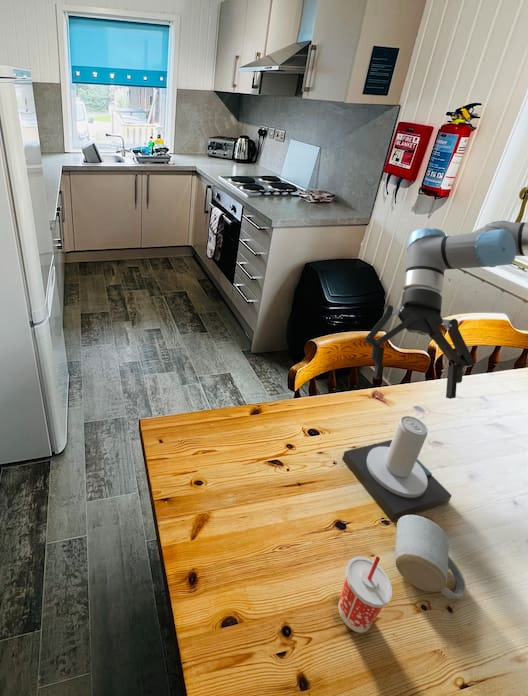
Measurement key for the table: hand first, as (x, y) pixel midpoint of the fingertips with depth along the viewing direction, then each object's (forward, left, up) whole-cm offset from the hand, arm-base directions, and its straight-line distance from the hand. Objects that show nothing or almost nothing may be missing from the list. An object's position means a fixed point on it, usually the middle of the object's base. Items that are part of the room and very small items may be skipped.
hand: (412, 387), depth 82 cm
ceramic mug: (-21, +13, -18) cm, 31 cm away
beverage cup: (-23, +29, -18) cm, 42 cm away
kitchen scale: (-6, +5, -18) cm, 20 cm away
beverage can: (-6, +5, -15) cm, 17 cm away
